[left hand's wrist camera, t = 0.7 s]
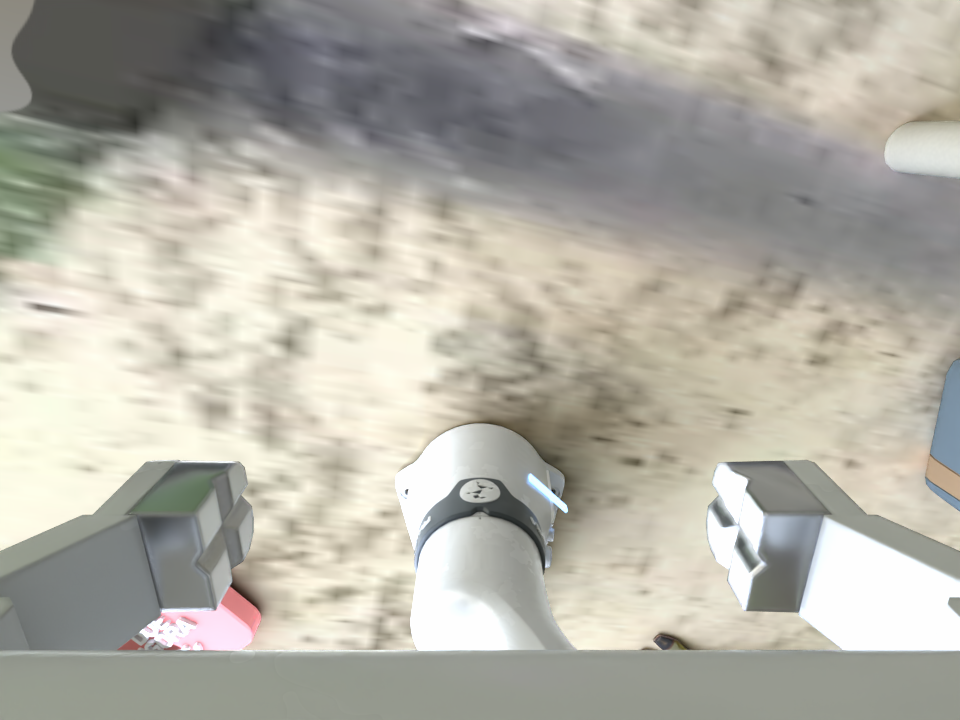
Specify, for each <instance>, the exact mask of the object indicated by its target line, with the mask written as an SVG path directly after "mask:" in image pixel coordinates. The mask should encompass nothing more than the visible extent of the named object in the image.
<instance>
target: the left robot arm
mask: <svg viewBox="0 0 960 720" xmlns="http://www.w3.org/2000/svg"><path fill="white" fill-rule="evenodd" d="M247 485H248V481H247V477H246V472H245V467H244V466H243V465H242V464H241V463H240V462H236V461H184V460H183V461H180V460H154V461H149V462H146V463H145V464H144V465H143V466H142V467H141V468H140V469H139V470H138V471H137V472H136V473H135V474H134V475H133V476H131V477H130V478H129V479H128V480H127V481H126V482H125V483H124V484H123V485H122V486H121V487H120V488H119V489H118V490H117V491H116V492H115V493H114V494H113V495H112V496H111V497H110V498H109V499H108V500H107V501H106V502H105V503H104V504H103V505H102V506H101V507H100V508H99V509H98V510H97V511H96V512H95V513H94V514H93V515H81V516H79V517H77V518H75V519H72V520H70V521H68V522H66V523H63V524H61V525H59V526H56V527H54V528H52V529H50V530H47V531H45V532H43V533H40V534H38V535H36V536H34V537H31V538H29V539H27V540H24V541H22V542H20V543H18V544H15V545H13V546H11V547H9V548H6V549H4V550H2V551H0V720H960V551H958V550H956V549H954V548H951V547H949V546H947V545H944V544H942V543H940V542H938V541H935V540H933V539H931V538H929V537H926V536H924V535H922V534H919V533H917V532H915V531H913V530H910V529H908V528H906V527H904V526H901V525H899V524H897V523H894V522H892V521H890V520H888V519H885V518H883V517H881V516H879V515H867V514H866V513H865V512H864V511H863V510H862V509H861V508H860V507H859V506H858V505H857V504H856V503H855V502H854V501H853V500H852V499H851V498H850V497H849V496H848V495H847V494H846V493H845V492H844V491H843V490H842V489H841V488H840V487H839V486H838V485H837V484H836V483H835V482H834V481H833V480H832V479H831V478H830V477H829V476H828V475H827V474H826V473H825V472H824V471H823V470H822V469H821V468H820V467H819V466H818V465H817V464H815V463H814V462H811V461H809V460H789V461H753V462H721V463H718V464H717V467H716V469H715V471H714V476H713V481H712V485H713V486H714V488H715V489H716V491H717V493H718V494H719V496H718V497H717V498H716V499H715V500H714V501H713V502H712V503H711V504H710V505H709V506H708V512H707V519H706V528H707V539H708V542H709V545H710V549H711V551H712V553H713V555H714V557H715V559H716V561H717V562H719V563H720V564H722V565H723V566H725V567H726V568H728V569H729V573H728V578H727V581H728V583H729V585H730V586H731V588H732V590H733V592H734V594H735V595H736V597H737V599H738V601H739V603H740V604H741V606H742V608H743V610H744V611H766V612H799V616H801V617H802V618H803V619H804V620H806V621H807V622H808V623H810V624H811V625H812V626H813V627H815V628H816V629H817V630H819V631H820V632H821V633H822V634H824V635H825V636H826V637H828V638H829V639H830V640H831V641H833V642H834V643H835V644H837V645H838V646H839V647H840V648H842V649H843V650H577V649H576V648H575V647H574V646H573V645H572V644H571V643H570V641H569V640H568V639H567V638H566V636H565V635H564V634H563V632H562V631H561V629H560V628H559V626H558V624H557V623H556V621H555V619H554V616H553V614H552V611H551V607H550V603H549V600H548V596H547V591H546V587H545V582H544V576H543V575H544V571H545V568H548V567H550V565H551V560H552V549H551V547H550V546H547V544H548V541H553V540H554V533H555V532H554V528H552V527H553V524H554V520H555V517H556V513H557V510H558V507H560V508H561V509H562V510H563V511H564V512H565V513H566V512H567V511H568V510H567V505H565V504H564V503H563V502H562V501H561V496H562V493H563V490H564V486H565V478H564V475H563V474H562V473H561V472H560V471H559V470H558V469H556V468H554V467H553V466H551V465H549V464H548V463H546V462H544V461H543V460H542V458H541V457H540V456H539V454H538V453H537V452H536V450H535V449H534V448H533V446H532V445H531V444H530V443H529V442H528V441H527V440H526V439H524V438H523V437H522V436H520V435H519V434H517V433H515V432H514V431H512V430H509V429H507V428H504V427H501V426H497V425H492V424H481V423H479V424H468V425H463V426H459V427H456V428H453V429H451V430H448V431H446V432H445V433H443V434H441V435H440V436H438V437H437V438H436V439H434V440H433V441H432V442H431V443H430V444H429V445H428V446H427V448H426V449H425V450H424V452H423V453H422V454H421V456H420V457H419V458H418V460H417V461H416V462H414V463H413V464H411V465H409V466H407V467H406V468H404V469H402V470H401V471H400V472H399V473H398V474H397V475H396V479H395V486H396V489H397V493H398V496H399V500H400V503H401V507H402V510H403V513H404V517H405V520H406V524H407V527H408V530H409V534H410V537H411V541H412V544H413V547H414V554H415V559H414V560H415V571H416V575H417V577H416V585H415V592H414V599H413V606H412V613H411V631H412V636H413V640H414V643H415V645H416V647H417V650H117V649H119V648H120V647H121V646H122V645H124V644H125V643H126V642H128V641H129V640H130V639H131V638H133V637H134V636H135V635H137V634H138V633H139V632H140V631H142V630H143V629H144V628H145V627H147V626H148V625H149V624H151V623H152V622H153V621H154V620H156V619H157V618H158V617H160V616H161V612H193V611H216V610H217V608H218V606H219V604H220V603H221V601H222V599H223V597H224V595H225V594H226V592H227V590H228V588H229V586H230V585H231V583H232V581H233V578H232V573H231V569H232V568H234V567H235V566H237V565H238V564H240V563H241V562H243V561H244V559H245V557H246V555H247V553H248V551H249V549H250V545H251V541H252V537H253V532H254V517H253V511H252V506H251V505H250V504H249V503H248V502H247V501H246V500H245V499H244V498H243V497H242V496H241V494H242V493H243V491H244V489H245V488H246V486H247ZM406 489H409V491H406ZM551 489H554V491H551Z"/></svg>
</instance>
